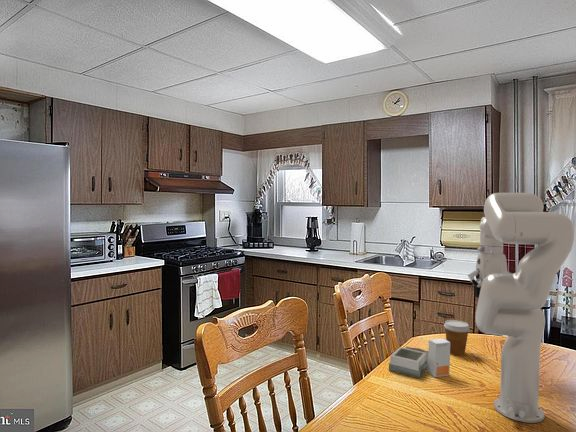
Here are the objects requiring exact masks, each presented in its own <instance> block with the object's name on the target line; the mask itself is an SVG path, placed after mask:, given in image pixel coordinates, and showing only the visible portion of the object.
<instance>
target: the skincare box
mask: <svg viewBox="0 0 576 432" xmlns="http://www.w3.org/2000/svg"><path fill="white" fill-rule="evenodd" d="M427 351H428V369H427V373H428V374H429V375H431V376H432V377H434V378H440V377H448V376H450V369H451V368H450V365H451V364H450V360H451V354H450V342H449V341H447V340H446V338H443V337H442V338H433V339H428V350H427Z"/></svg>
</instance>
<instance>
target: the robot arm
mask: <svg viewBox="0 0 576 432" xmlns="http://www.w3.org/2000/svg"><path fill="white" fill-rule="evenodd" d="M544 208H545V207H544V202H543V200H542V199H541V198H540V197H539V196H537V195H536V194H534V193H530V192H494V193H492V194H490V195H488V196H487V198H486V199H485V201H484V206H483V213H484V216H483V217H481V218H480V222H479V223H480V224H479V233H480V235H479V236H480V238H479V247H477V249H476V251H477V252H479V253H478V255H477V257H476V264H475V270H474V271H472V272H470V273H468V274H467V277H468V279H469V282H470V283H471V284H472V286H473V287H474V289H473V291H474V292H473V294H474V298H477V299H478V300H477V305H476V309H475V310H476V311H475V316H474V317H475V325H476V327H477V330H479V332H481V333H483V334H485V335H493V336H494V335H495V336H506V337H507V336H508V338H507V339H506V340H505V342H504V343H503V344H502V346H501V353H500V355H501V356H500V357H501V358H500V362H501V363H500V391H499V393H500V394H499V397H497V398H496V399H494V401H493V406H494V409H495V411H497V412H498V413H499V414H500V415H502V416H505V417H506V418H509V419H511V420H513V421H517V422H522V423H528V424H535V423H540V422H542V421H544V419H545V411H544V410H543V409H542V408H541V407H540V406H539V395H540V394H539V391H540V390H539V389H540V365H541V364H540V362H541V345H542V341H543V340H542V339H543V336H544V335H543V334H544V330H545V325H546V316H545V313H544V311H543V310H542V308H543V307H544V306H545V304H546V303H547V301H548V298H549V295H550V292H551V290H552V287H553V284H554V281H555V278H556V275H557V274H558V271H559V270H560V268H561V267H562V266H563V264H564V262H565V261H566V260H567V258H568V257H569V255H570V253H571V251H572V249H573V245H574V240H575V226H574V224H573V221H572V220H571V219H570V218H569V217H567V216H566V215H565V214H561V213H557V212H551V211H550V212H549V211H544ZM504 244H505V245H506V244H507V245H533V246H534V245H537V246H536V247H535V248H533V249H532V250H530V251H528V252H527V253H526V254H524V256H523V257H522V258H521V259H520V260H519V262H518V266H517V269H516V272H514V273H512V272H510V271H508V263H507V262H508V261H507V257H506V254H504Z"/></svg>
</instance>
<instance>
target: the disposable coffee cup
mask: <svg viewBox="0 0 576 432" xmlns="http://www.w3.org/2000/svg"><path fill="white" fill-rule="evenodd" d="M444 322H445V323H444V324H443V327H444V332H445V340H447V341H449V342H450V356H451V355H452V356H455V357H462V356H463V357H464V356H465V355H466V354H465V353H466V348H467V342H468V336H469V331H470V326H469V324H468V322H466V321H463V320H456V319H455V320H454V319H449V320H446V321H444Z"/></svg>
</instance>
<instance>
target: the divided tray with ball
mask: <svg viewBox="0 0 576 432" xmlns="http://www.w3.org/2000/svg"><path fill="white" fill-rule="evenodd" d="M428 351H429V350H424V349H421V348H418V347H412V346H411V347H410V346H405V347H402V346H399V347H397V349H396V350H394V352H393V353H392V354H390V357H389V358H390V359H389V363H388V371H389V372H394V373H397V374H402V375H406V376H409V377H413V378H416V379H421V378H422V377H423V375H424V374H425V373H426V371H428Z"/></svg>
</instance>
